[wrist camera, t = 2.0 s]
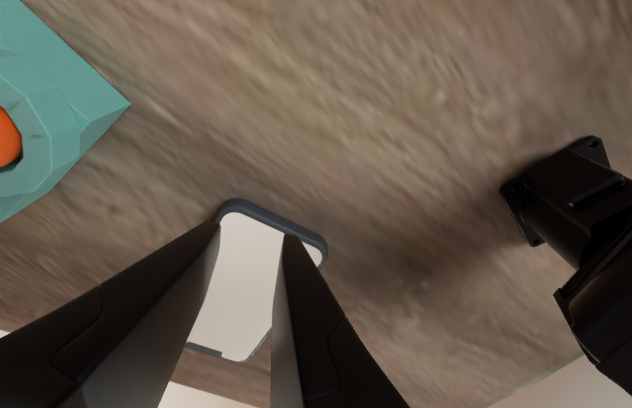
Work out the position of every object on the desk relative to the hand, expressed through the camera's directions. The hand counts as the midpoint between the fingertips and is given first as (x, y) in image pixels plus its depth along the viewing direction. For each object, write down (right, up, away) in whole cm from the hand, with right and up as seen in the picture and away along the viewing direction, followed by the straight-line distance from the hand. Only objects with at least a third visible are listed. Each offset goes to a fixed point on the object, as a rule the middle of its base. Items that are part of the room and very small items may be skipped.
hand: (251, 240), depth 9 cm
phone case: (-5, -6, +17) cm, 19 cm away
